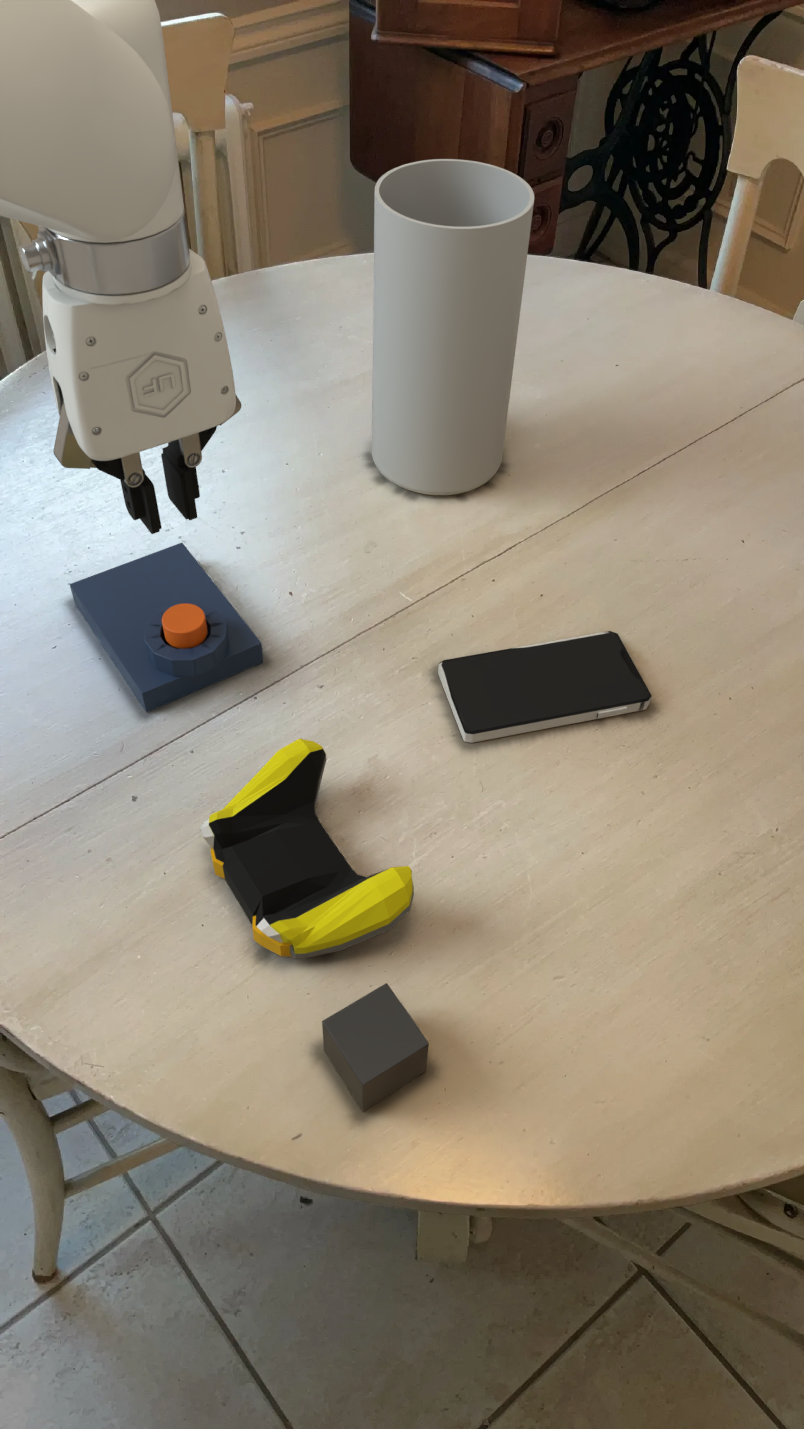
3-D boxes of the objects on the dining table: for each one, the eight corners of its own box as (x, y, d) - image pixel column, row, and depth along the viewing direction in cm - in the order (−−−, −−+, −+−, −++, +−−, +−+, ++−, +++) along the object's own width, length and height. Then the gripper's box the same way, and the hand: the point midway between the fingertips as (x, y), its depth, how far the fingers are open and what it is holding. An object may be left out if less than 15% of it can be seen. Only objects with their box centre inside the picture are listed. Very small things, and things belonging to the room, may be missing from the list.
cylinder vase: (528, 466, 101) (567, 200, 82) (429, 516, 95) (447, 244, 77) (442, 407, 107) (460, 146, 88) (345, 451, 102) (342, 183, 83)
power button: (214, 639, 79) (212, 622, 78) (176, 655, 78) (173, 638, 77) (196, 614, 81) (193, 597, 80) (157, 629, 80) (154, 612, 79)
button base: (266, 666, 83) (263, 630, 80) (149, 717, 79) (141, 681, 76) (185, 561, 90) (179, 525, 87) (74, 603, 87) (64, 567, 84)
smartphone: (436, 659, 82) (615, 628, 85) (436, 670, 83) (612, 638, 86) (466, 736, 77) (655, 700, 80) (465, 747, 78) (651, 711, 81)
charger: (362, 1112, 60) (362, 1085, 57) (323, 1049, 63) (321, 1021, 60) (428, 1069, 62) (432, 1041, 59) (388, 1010, 64) (389, 980, 61)
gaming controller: (313, 770, 76) (186, 829, 73) (310, 721, 72) (175, 780, 68) (425, 928, 68) (288, 1003, 64) (429, 883, 64) (283, 961, 60)
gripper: (-1, 313, 52) (75, 589, 66) (280, 240, 58) (295, 506, 72) (-50, 251, 56) (31, 523, 70) (218, 188, 62) (243, 450, 76)
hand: (165, 513), depth 71 cm, fingers closed
